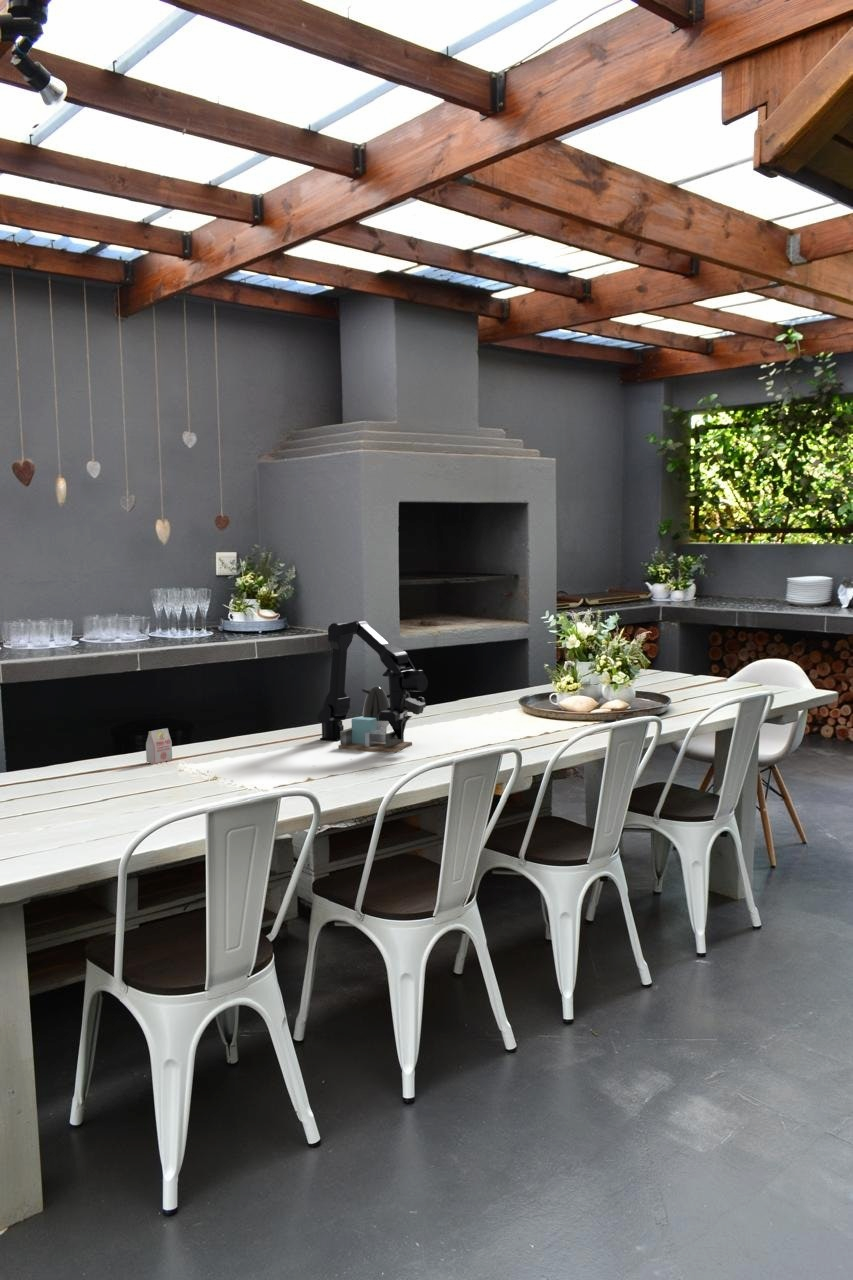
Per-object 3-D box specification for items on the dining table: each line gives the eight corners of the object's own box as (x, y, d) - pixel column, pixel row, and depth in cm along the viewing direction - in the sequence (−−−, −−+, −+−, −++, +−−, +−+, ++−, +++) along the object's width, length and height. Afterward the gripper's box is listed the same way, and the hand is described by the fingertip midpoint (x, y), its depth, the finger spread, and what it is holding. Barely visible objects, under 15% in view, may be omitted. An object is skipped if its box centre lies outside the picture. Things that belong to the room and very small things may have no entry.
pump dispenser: (361, 726, 365) (360, 684, 364) (390, 725, 366) (389, 683, 365) (363, 731, 355) (361, 688, 353) (392, 730, 356) (391, 687, 355)
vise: (338, 748, 325) (338, 731, 325) (357, 741, 337) (357, 724, 337) (394, 752, 317) (393, 735, 316) (412, 745, 329) (411, 728, 328)
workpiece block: (352, 743, 328) (351, 718, 328) (357, 741, 332) (357, 716, 331) (371, 744, 325) (370, 720, 325) (376, 742, 329) (376, 718, 328)
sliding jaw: (365, 746, 322) (364, 733, 321) (382, 740, 333) (382, 726, 332) (387, 748, 318) (387, 734, 318) (404, 741, 329) (404, 728, 329)
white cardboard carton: (146, 763, 308) (145, 730, 307) (164, 759, 314) (163, 727, 313) (154, 764, 306) (152, 732, 305) (172, 760, 311) (171, 728, 310)
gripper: (408, 694, 310) (410, 745, 311) (432, 686, 327) (435, 734, 328) (375, 694, 315) (378, 744, 316) (401, 686, 332) (404, 733, 333)
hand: (400, 739), depth 323 cm, fingers closed, pressing on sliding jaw
